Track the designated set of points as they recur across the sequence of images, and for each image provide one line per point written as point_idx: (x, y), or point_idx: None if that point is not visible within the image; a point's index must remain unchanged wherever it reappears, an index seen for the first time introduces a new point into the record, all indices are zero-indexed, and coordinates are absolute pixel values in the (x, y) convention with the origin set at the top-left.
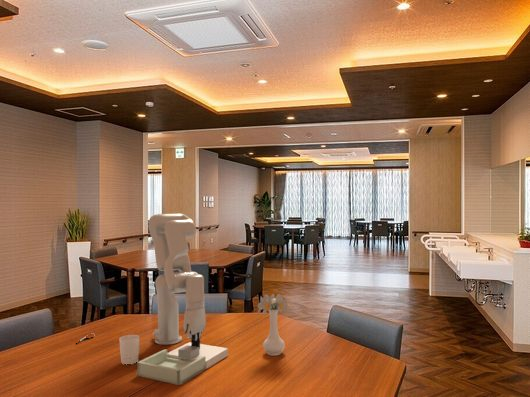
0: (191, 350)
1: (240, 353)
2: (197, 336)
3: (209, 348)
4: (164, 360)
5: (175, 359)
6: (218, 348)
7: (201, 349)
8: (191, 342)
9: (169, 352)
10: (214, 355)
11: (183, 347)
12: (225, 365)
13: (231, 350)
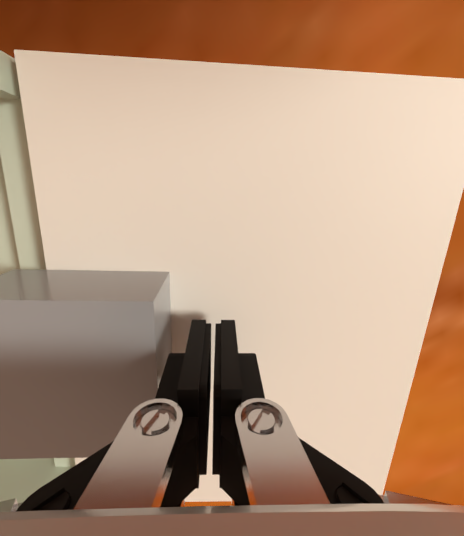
0: (23, 446)
1: (410, 489)
2: (242, 495)
3: (342, 390)
4: None
5: (20, 231)
6: (361, 448)
7: (296, 344)
8: (183, 361)
9: (72, 68)
10: (207, 494)
11: (48, 310)
12: (203, 505)
13: (453, 426)
